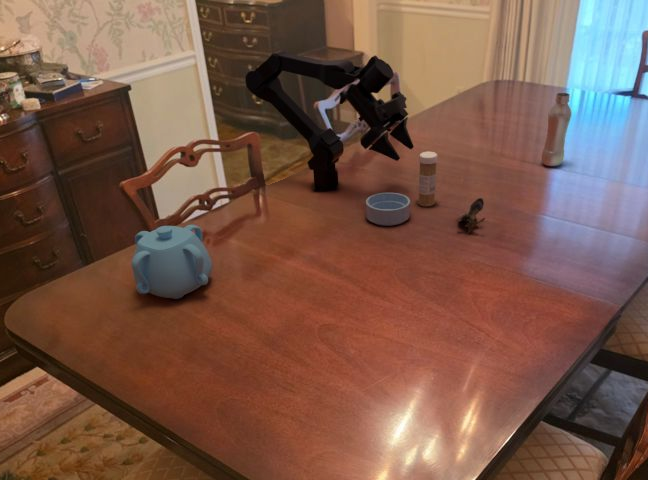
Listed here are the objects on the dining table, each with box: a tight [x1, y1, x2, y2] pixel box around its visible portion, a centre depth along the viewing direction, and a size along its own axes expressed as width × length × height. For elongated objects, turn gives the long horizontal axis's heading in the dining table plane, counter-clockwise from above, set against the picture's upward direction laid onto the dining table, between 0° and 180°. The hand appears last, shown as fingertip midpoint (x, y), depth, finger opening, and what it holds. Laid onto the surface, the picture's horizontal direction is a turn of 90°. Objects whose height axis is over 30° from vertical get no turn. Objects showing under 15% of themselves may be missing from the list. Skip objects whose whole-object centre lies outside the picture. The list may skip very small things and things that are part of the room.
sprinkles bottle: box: [417, 151, 438, 207], centre depth 161 cm, size 5×5×13 cm
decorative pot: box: [131, 224, 213, 300], centre depth 131 cm, size 16×16×14 cm
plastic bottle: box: [541, 92, 572, 167], centre depth 179 cm, size 6×7×20 cm
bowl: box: [365, 192, 411, 227], centre depth 158 cm, size 11×11×4 cm
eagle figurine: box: [456, 197, 486, 235], centre depth 152 cm, size 8×7×9 cm
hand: (405, 153), depth 160 cm, fingers open, 9 cm apart
